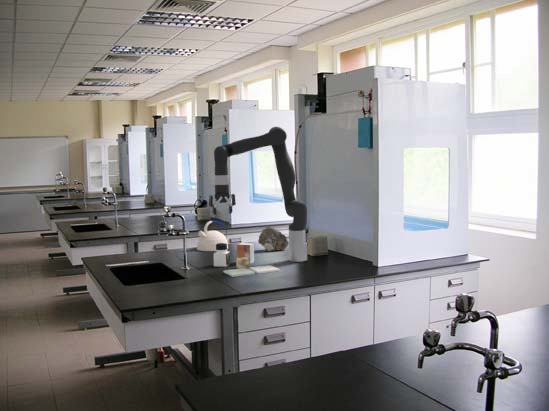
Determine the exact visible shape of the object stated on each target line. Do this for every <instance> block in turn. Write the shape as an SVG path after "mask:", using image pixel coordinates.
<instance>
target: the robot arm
mask: <svg viewBox="0 0 549 411" xmlns="http://www.w3.org/2000/svg"><path fill="white" fill-rule="evenodd" d="M287 136H288V135H287V132H286V130H285V129H283V128H282V127H280V126H272V127H271V128H270V129H269V131H268V132H266V133H264V134H260V135H258V136H253V137H247V138H243V139H239V140H236V141H232V142H231V143H227V144H223V145H220V146H216V147H215V148H214V151H213V157H214V195H211V194H210V195H209V198H208V206H209V207H210V208H212V214H213V215H214V216H216V215H217V206H218V205H219V204H223V203H225V204H227V205H228V214H232V213H233V207H234V206H236V194H235V193H231V194H230V182H229V181H230V180H229V179H230V178H229V166H228V158H230V157H232V156H237V155H242V154H245V153H247V152H251V151H254V150H257V149H261V148H264V147H265V148H266V147H271V148H272V152H273V155H274V161H275V166H276V168H275V169H276V172H277V176H278V180H279V182H280V183H279V184H280V188H281V191H282V197H283V203H284V209H285V212H286V214H287V216H288V217H290V218H292V219H293V220H292V222H291V223H290V224H288V243H289V244H288V260H289V262H292V263H293V262H294V263H296V262H297V263H302V262H305V261H308V243H307V242H306V226H307V223H308V221H307V219H308V208H307V204H306V203H305V202H304V201H302V200H301V201H300V200H297V199H296V195H295V184H296V180H297V176H296V172H295V167H294V164H293V161H292V159H291V156H290V155H289V153H288V152H289V151H288V149H287V145H286V140H287ZM229 198H230V199H231V201H230V200H229ZM214 199H215V200H214ZM213 201H214V202H213Z"/></svg>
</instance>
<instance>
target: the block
mask: <svg viewBox="0 0 549 411" xmlns="http://www.w3.org/2000/svg"><path fill="white" fill-rule="evenodd" d="M235 261H236V262H235V263H236V264H235V265H236V267H235V269H241V268H246V269H249V268H250V264H249V259H248V258H245V257H244V258H237V257H236V260H235Z"/></svg>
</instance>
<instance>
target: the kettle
mask: <svg viewBox="0 0 549 411" xmlns="http://www.w3.org/2000/svg"><path fill="white" fill-rule="evenodd" d="M210 224H217V225H220V226H221V227H222V228H223V227H226V224H224V223H222V222H221V221H218V220H209V221H207V222H206V223H205V225H204V227H203V230H198V233H197V235H198V236H199V237H198V240H197V242H196V250H197V251H201V252H217V251H216V244H218V243H226V244H227V250H228V249H229V245H228V240H227V237H226V236H225V235H224V233H221V230H208V227H209V225H210Z"/></svg>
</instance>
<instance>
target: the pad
mask: <svg viewBox="0 0 549 411" xmlns="http://www.w3.org/2000/svg"><path fill="white" fill-rule="evenodd" d="M248 269H249V270H251V271H253V272H255V274H266V273H268V274H269V273H275V272H280V271H281V269H280V268H278V267H275V266H273V265H270V264H269V265H267V264H266V265H261V266H252V267H250V266H249V268H248Z"/></svg>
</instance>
